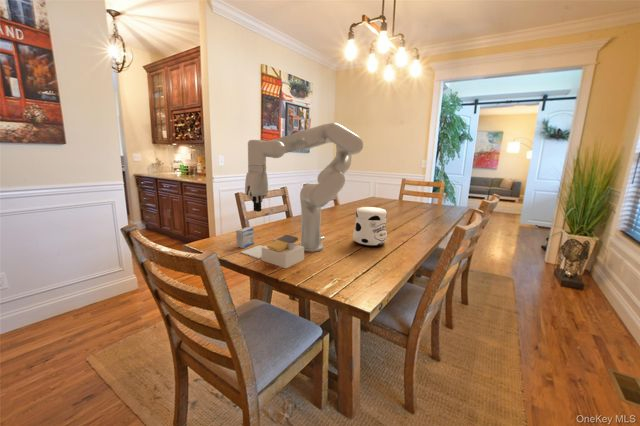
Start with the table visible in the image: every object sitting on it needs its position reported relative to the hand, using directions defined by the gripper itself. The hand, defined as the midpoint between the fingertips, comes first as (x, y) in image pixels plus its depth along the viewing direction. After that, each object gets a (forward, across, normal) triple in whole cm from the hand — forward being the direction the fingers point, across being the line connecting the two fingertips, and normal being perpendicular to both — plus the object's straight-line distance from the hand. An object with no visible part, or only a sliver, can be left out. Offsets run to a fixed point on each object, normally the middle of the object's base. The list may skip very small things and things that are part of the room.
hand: (257, 210), depth 125 cm
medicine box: (+21, -5, -13) cm, 25 cm away
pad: (+20, -2, -1) cm, 21 cm away
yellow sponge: (+13, -1, +14) cm, 19 cm away
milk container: (+20, -45, +37) cm, 61 cm away
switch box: (+20, -1, +14) cm, 25 cm away
